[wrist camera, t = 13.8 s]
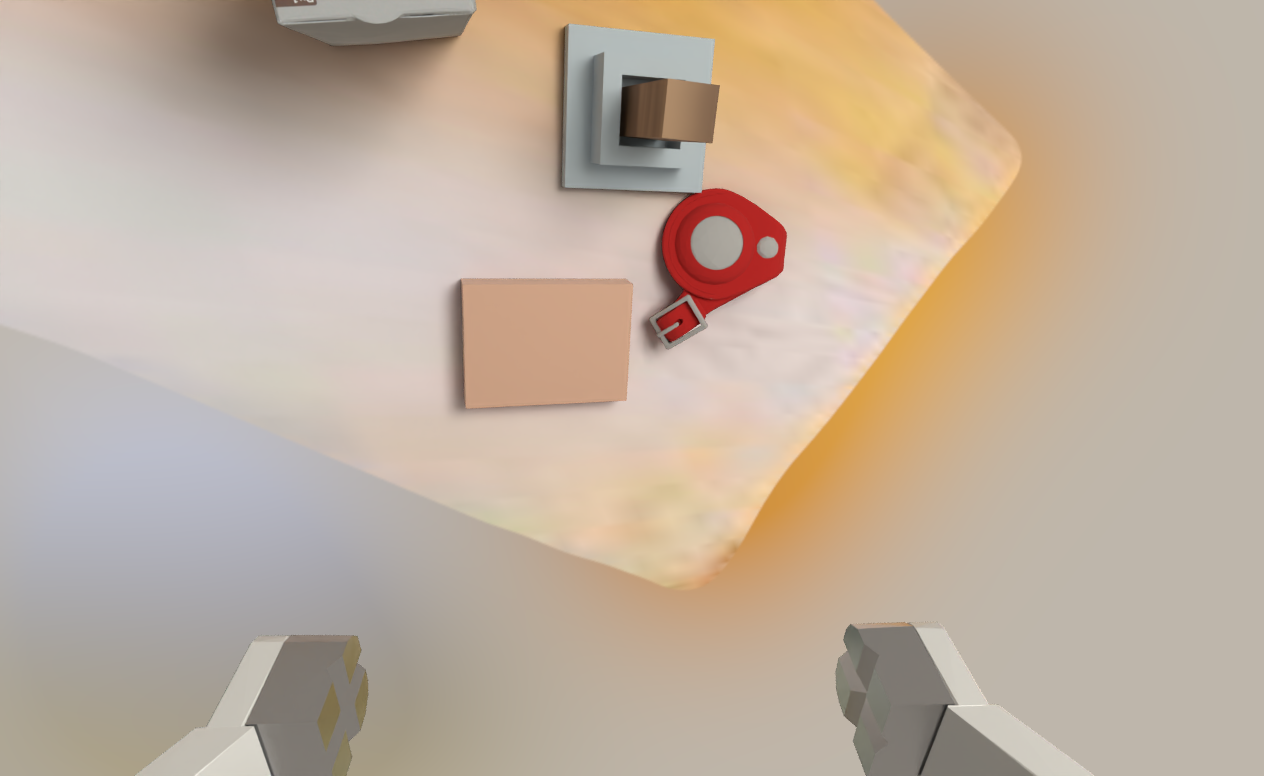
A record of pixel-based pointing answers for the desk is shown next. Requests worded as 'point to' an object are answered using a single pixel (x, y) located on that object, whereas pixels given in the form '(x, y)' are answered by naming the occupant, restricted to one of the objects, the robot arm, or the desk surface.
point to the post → (669, 111)
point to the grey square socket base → (595, 105)
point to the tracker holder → (715, 257)
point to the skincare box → (374, 19)
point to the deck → (545, 341)
